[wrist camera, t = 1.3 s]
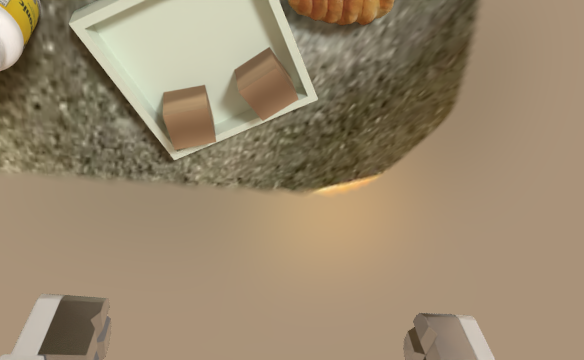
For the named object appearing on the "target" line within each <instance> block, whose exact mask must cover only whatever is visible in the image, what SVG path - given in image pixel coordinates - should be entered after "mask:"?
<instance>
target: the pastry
mask: <svg viewBox="0 0 584 360" xmlns="http://www.w3.org/2000/svg"><path fill="white" fill-rule="evenodd" d="M393 2H394V0H288V3H289V5H290V6H291V7H292V8H293V9H294V10H295V11H296V12H297V13H298V14H300V15H304V16H308V17H310V18H312V19H313V20H315V21H316V20H322V21H325V22H327V23H337V24H339V25H346V24H351V23H353V22H358V23H359V24H361V25H365V24H368V23H370V22H371V21H373V19H375V18H381V17H382V16H384V15H386V14H387V13H388V12H390V10H391V9H392V7H393Z"/></svg>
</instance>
